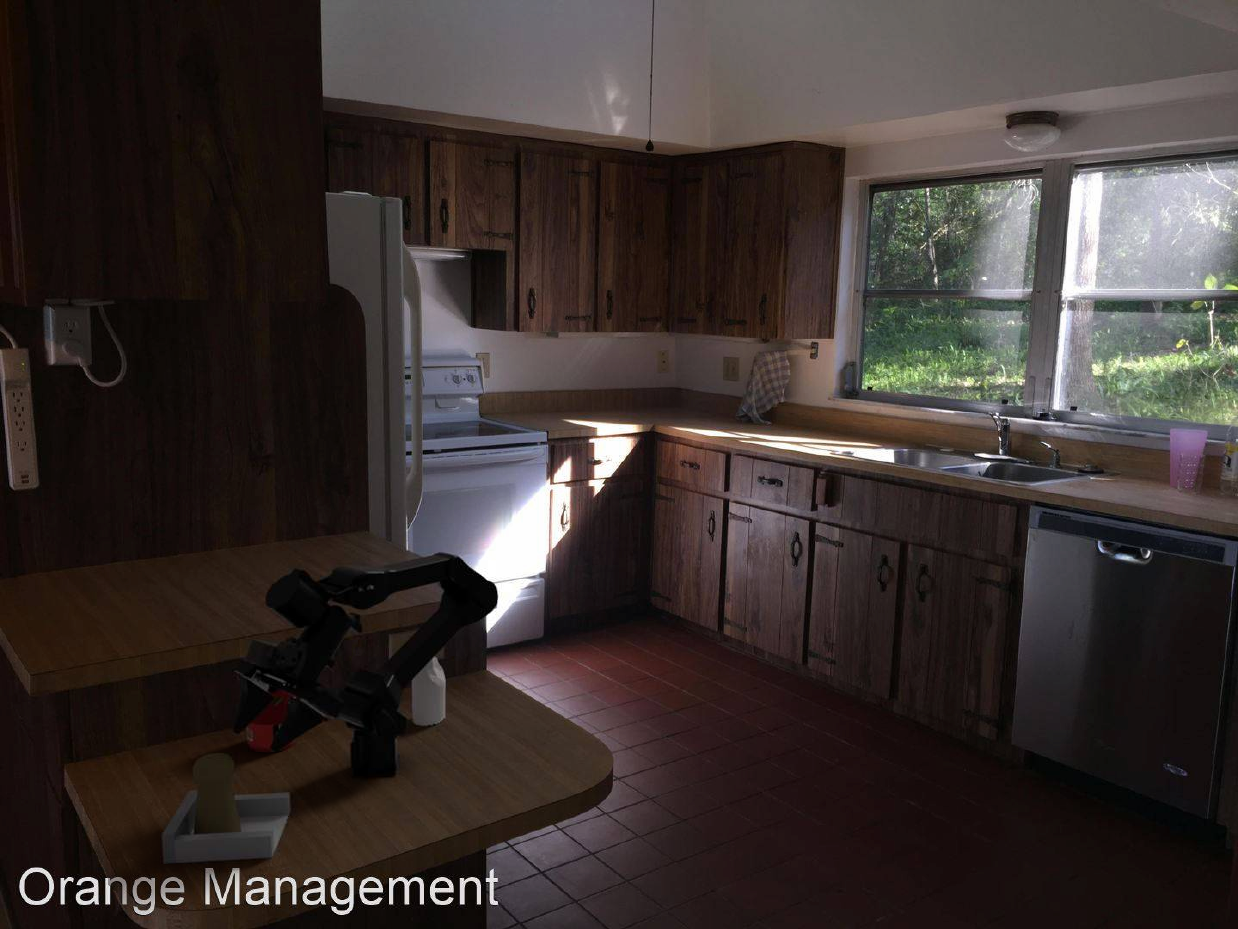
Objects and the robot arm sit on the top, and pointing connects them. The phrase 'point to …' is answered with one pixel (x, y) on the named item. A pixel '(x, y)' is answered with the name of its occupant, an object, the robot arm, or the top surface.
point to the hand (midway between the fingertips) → (253, 741)
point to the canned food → (269, 723)
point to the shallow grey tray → (256, 839)
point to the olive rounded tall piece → (215, 795)
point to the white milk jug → (429, 695)
